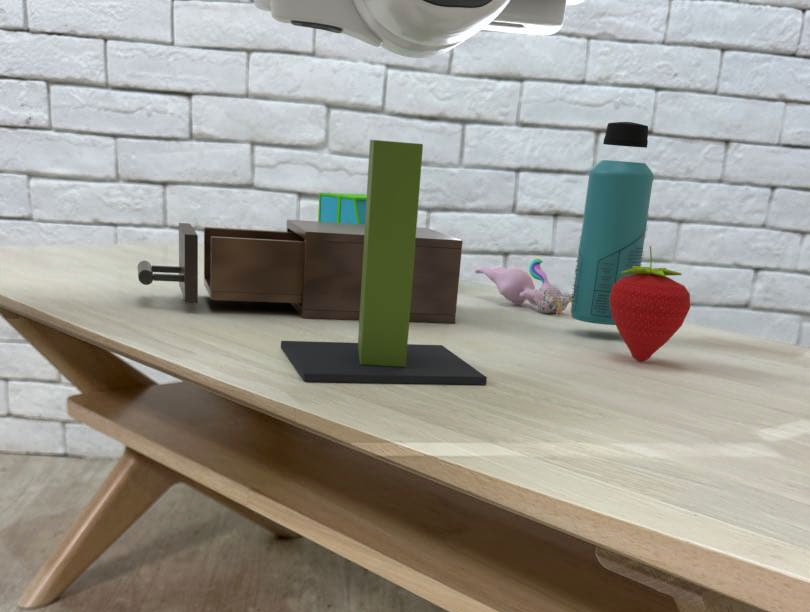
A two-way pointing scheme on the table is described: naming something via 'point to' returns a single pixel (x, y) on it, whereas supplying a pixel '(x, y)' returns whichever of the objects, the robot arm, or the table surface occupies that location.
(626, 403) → the table surface
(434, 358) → the mat
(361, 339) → the tall olive green pillar
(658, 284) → the strawberry
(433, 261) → the cabinet
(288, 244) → the drawer
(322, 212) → the blue green-edged box
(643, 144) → the beverage bottle
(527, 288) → the pink elongated figure
